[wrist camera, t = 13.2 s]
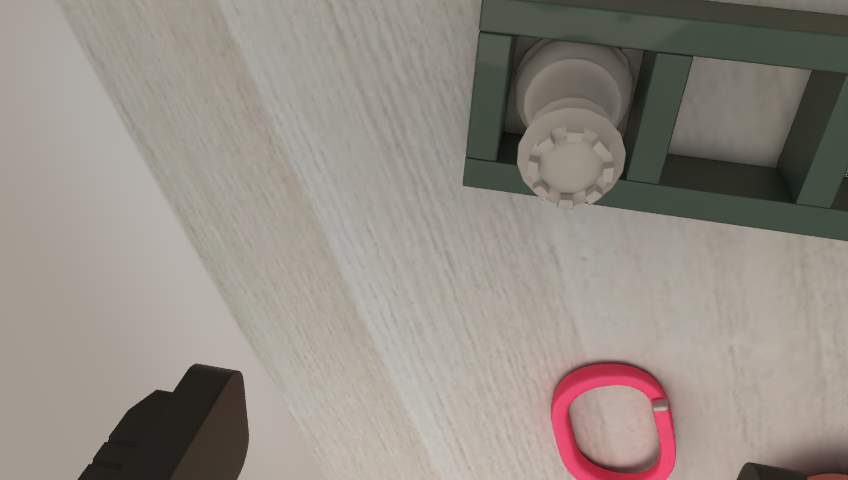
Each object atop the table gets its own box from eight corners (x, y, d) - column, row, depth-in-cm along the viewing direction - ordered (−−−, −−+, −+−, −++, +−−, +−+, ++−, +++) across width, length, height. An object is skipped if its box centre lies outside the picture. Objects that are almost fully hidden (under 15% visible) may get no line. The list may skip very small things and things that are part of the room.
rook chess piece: (599, 2, 26) (606, 70, 19) (651, 103, 27) (675, 200, 21) (494, 62, 28) (466, 144, 21) (548, 154, 29) (539, 257, 23)
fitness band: (680, 473, 37) (683, 497, 36) (569, 478, 39) (568, 500, 38) (662, 355, 33) (666, 376, 32) (540, 366, 35) (539, 387, 34)
